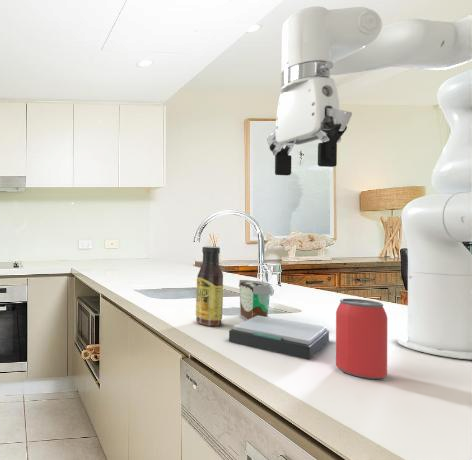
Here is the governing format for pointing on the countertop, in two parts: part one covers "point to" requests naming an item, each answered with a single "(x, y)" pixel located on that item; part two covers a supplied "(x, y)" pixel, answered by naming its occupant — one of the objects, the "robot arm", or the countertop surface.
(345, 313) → the beer can
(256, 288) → the food container
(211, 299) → the sauce bottle
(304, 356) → the scale
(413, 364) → the countertop surface
